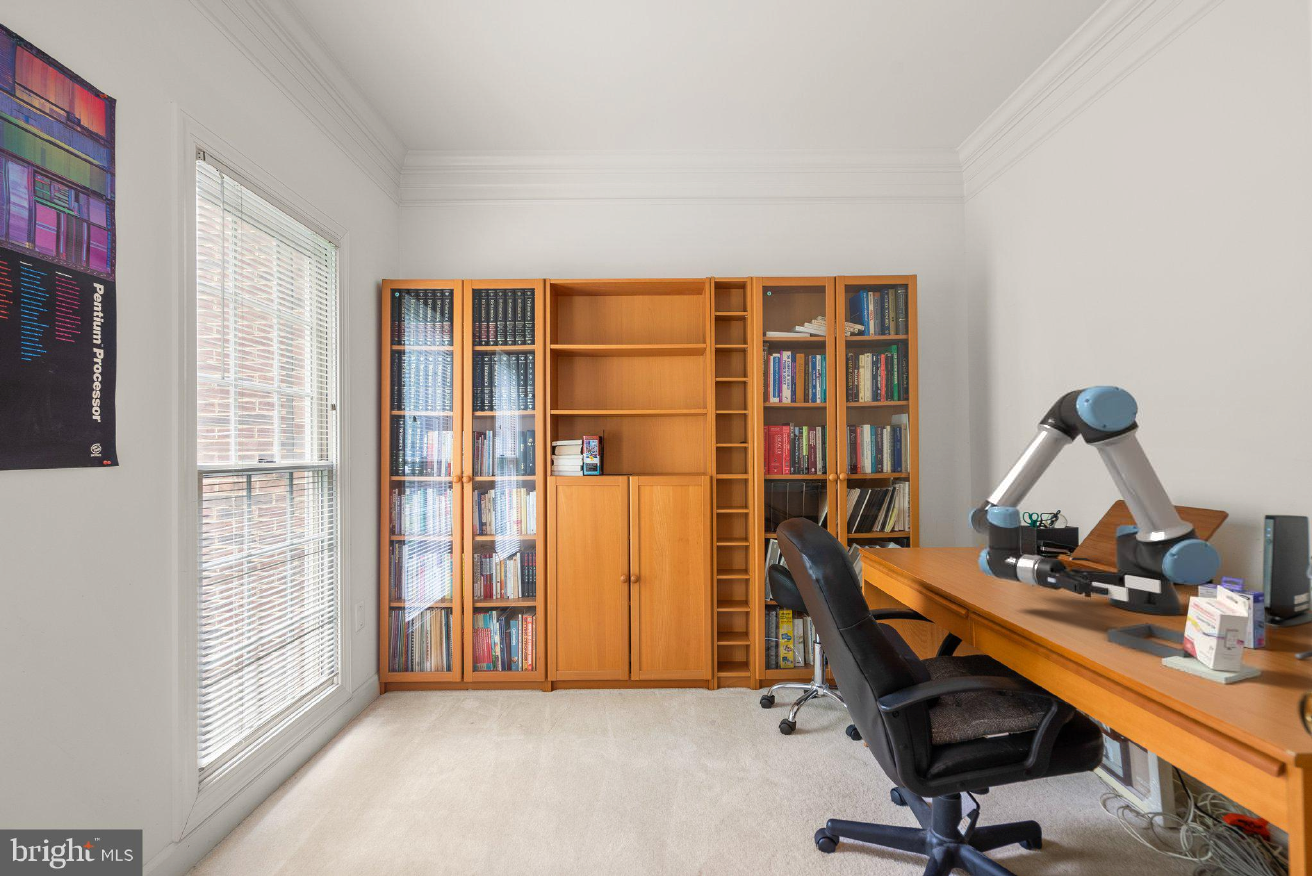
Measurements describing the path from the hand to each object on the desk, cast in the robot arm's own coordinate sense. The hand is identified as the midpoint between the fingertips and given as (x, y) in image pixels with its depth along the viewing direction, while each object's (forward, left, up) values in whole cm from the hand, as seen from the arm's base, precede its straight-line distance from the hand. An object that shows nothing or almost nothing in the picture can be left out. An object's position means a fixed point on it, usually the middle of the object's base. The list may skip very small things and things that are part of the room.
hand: (1144, 590), depth 123 cm
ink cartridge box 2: (-26, +3, -14) cm, 29 cm away
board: (-1, +11, -13) cm, 17 cm away
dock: (-7, 0, -13) cm, 15 cm away
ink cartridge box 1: (-1, +11, -12) cm, 16 cm away
